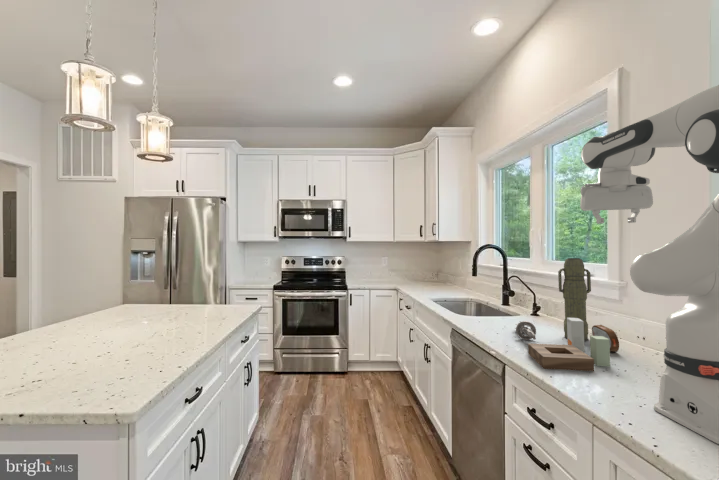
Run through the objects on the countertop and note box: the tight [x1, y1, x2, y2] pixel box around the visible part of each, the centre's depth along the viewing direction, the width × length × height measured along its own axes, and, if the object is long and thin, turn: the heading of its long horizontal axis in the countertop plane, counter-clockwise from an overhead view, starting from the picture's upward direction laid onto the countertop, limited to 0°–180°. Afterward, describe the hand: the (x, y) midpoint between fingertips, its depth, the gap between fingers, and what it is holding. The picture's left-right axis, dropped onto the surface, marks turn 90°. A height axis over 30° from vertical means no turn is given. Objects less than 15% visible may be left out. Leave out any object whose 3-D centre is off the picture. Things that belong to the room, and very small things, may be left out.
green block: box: [589, 335, 611, 367], centre depth 111 cm, size 4×4×9 cm
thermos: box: [557, 257, 592, 342], centre depth 142 cm, size 9×12×35 cm
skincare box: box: [566, 318, 586, 354], centre depth 126 cm, size 6×4×12 cm
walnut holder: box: [527, 343, 595, 372], centre depth 113 cm, size 15×15×4 cm
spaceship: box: [514, 320, 537, 341], centre depth 141 cm, size 8×35×8 cm
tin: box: [591, 324, 620, 353], centre depth 127 cm, size 15×3×8 cm, turn 168°
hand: (616, 223), depth 109 cm, fingers open, 8 cm apart
